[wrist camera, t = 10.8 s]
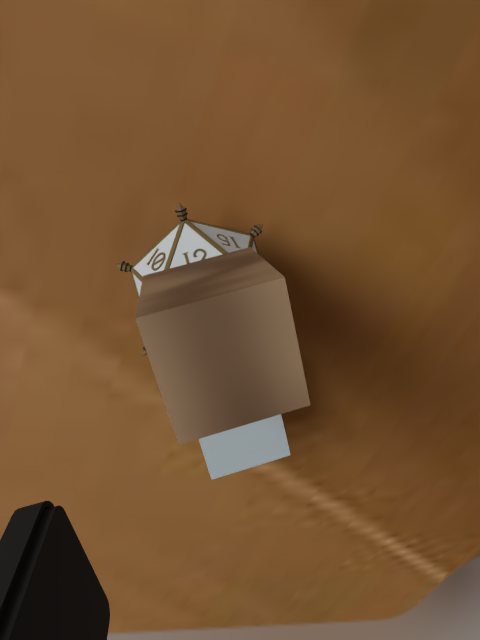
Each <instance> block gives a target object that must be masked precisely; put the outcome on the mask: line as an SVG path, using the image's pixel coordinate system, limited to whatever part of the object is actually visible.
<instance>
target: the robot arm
mask: <svg viewBox="0 0 480 640" xmlns="http://www.w3.org/2000/svg"><path fill="white" fill-rule="evenodd" d="M109 620H110V609H109V603H108V600H107V597H106V595H105V593H104V591H103V589H102V587H101V585H100V583H99V580H98V578H97V576H96V574H95V572H94V570H93V568H92V566H91V564H90V562H89V560H88V558H87V556H86V554H85V552H84V550H83V547H82V545H81V543H80V541H79V539H78V537H77V535H76V533H75V531H74V529H73V527H72V525H71V523H70V521H69V519H68V517H67V514H66V512H65V510H64V509H63V507H61V506H56V507H54V505H53V504H52V503H51V502H50V501H44V502H41V503H37V504H34V505H30V506H26V507H23V508H19V509H17V510H16V511H15V512H14V513H13V515H12V517H11V519H10V521H9V523H8V525H7V528H6V530H5V532H4V534H3V536H2V538H1V540H0V640H107V634H108V628H109Z"/></svg>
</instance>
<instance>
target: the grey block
mask: <svg viewBox="0 0 480 640" xmlns="http://www.w3.org/2000/svg"><path fill="white" fill-rule="evenodd" d="M199 442H200V445H201V448H202V451H203V454H204V457H205V460H206V464H207V467H208V470H209V473H210V476H211V479H215V478H218V477H222V476H225V475H228V474H231V473H235V472H238V471H241V470H244V469H248V468H251V467H254V466H257V465H260V464H264V463H267V462H270V461H273V460H277V459H280V458H283V457H286V456H290V450H289V446H288V442H287V437H286V433H285V429H284V424H283V420H282V416H281V414H280V415H276V416H273V417H270V418H266V419H263V420H260V421H257V422H253V423H250V424H247V425H243V426H240V427H237V428H233V429H230V430H227V431H223V432H220V433H217V434H213V435H210V436H207V437H203V438H200V439H199Z"/></svg>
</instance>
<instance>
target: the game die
mask: <svg viewBox="0 0 480 640" xmlns="http://www.w3.org/2000/svg"><path fill="white" fill-rule="evenodd" d="M186 210H187V209H186V208H184V207H183V206H182V205H181V204H180V203H178V207H177V210H176V211H175V212H177V217H179V218H180V221H179V222H178V223H177V224H176V225H175V226H174V227H173V228H172V229H171V230H170V231H169V232H168V233H167V234H166V235H165V236H164V237H163V238H162V239H161V240H159V241H158V242H157V243H156V244H155V245H154V246H153V247H152V248H151V249H150V250H149V251H148V252H147V253H146V254H145V255H144V256H143V257H142V258H141V259H140V260H139V261H137V262H136V263H135V264H134V265H133V266H131V265H130V264H129V263H125V261H123V262H122V263H118V264H115V265H116V266H117V267H119V268H120V270H121V271H125V272H127V271H130V272H131V274H132V277H133V281H134V284H135V288H136V291H137V295H138V298H139V296H140V290H141V285H142V280H143V276H144V275H148V274H151V273H155V272H159V271H163V270H166V269H170V268H174V267H178V266H181V265H185V264H189V263H192V262H196V261H200V260H204V259H207V258H211V257H215V256H219V255H222V254H226V253H230V252H233V251H237V250H241V249H245V248H248V247H251V248H252V249H253V250H254V251H255V252H257V253H258V250H257V246H256V243H255V239H254V237H256V236H258V235H259V233H261V232H262V231H261V230H262V225H263V224H262V225H258V226H254V228H253V229H251V230H252V231H251V233H250V234H247V233H243V232H239V231H235V230H231V229H227V228H222V227H218V226H214V225H210V224H206V223H202V222H197V221H193V220H189V219H187V214H188V213H186ZM258 254H259V253H258ZM144 355H148V354H147V351H146V349H145V347H144V348H143V353H142V356H144Z"/></svg>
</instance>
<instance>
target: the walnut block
mask: <svg viewBox="0 0 480 640" xmlns="http://www.w3.org/2000/svg"><path fill="white" fill-rule="evenodd" d="M135 320H136V323H137V325H138V328H139V331H140V334H141V337H142V340H143V343H144V346H145V349H146V351H147V354H148V357H149V360H150V363H151V366H152V369H153V372H154V375H155V378H156V380H157V383H158V386H159V389H160V392H161V395H162V398H163V401H164V404H165V407H166V409H167V412H168V415H169V418H170V421H171V424H172V427H173V430H174V433H175V435H176V438H177V441H178V444H179V445H180V444H184V443H187V442H190V441H194V440H197V439H200V438H203V437H207V436H210V435H213V434H217V433H220V432H223V431H227V430H230V429H233V428H237V427H240V426H243V425H247V424H250V423H253V422H257V421H260V420H263V419H266V418H270V417H273V416H276V415H280V414H283V413H286V412H290V411H293V410H296V409H300V408H303V407H306V406H310V400H309V395H308V390H307V385H306V380H305V375H304V370H303V365H302V360H301V355H300V350H299V345H298V340H297V335H296V330H295V325H294V320H293V315H292V310H291V305H290V300H289V295H288V291H287V286H286V281H285V277H284V276H283V275H282V274H281V273H279V272H278V271H277V270H276V269H275V268H274V267H273V266H271V265H270V264H269V263H268V262H267V261H266V260H265V259H263V258H262V257H261V256H260V255H259V254H258V253H257V252H255V251H254V250H253V249H252V248H251V247H248V248H245V249H241V250H237V251H233V252H230V253H226V254H222V255H219V256H215V257H211V258H207V259H204V260H200V261H196V262H192V263H189V264H185V265H181V266H178V267H174V268H170V269H166V270H163V271H159V272H155V273H151V274H148V275H144V276H143V280H142V285H141V290H140V296H139V301H138V306H137V311H136V317H135Z"/></svg>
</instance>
